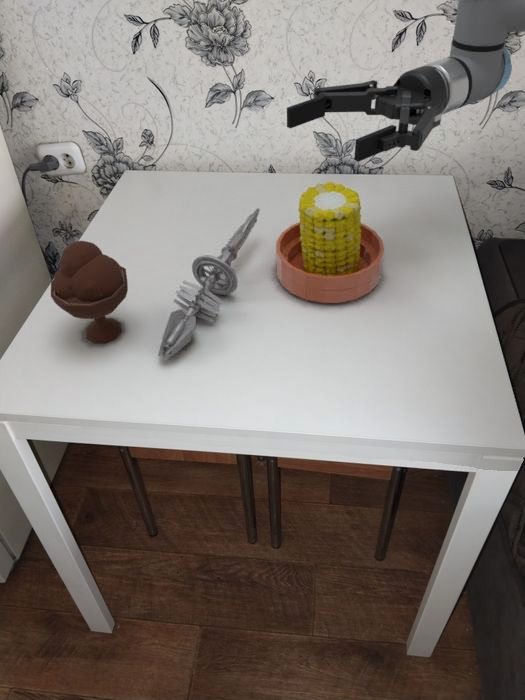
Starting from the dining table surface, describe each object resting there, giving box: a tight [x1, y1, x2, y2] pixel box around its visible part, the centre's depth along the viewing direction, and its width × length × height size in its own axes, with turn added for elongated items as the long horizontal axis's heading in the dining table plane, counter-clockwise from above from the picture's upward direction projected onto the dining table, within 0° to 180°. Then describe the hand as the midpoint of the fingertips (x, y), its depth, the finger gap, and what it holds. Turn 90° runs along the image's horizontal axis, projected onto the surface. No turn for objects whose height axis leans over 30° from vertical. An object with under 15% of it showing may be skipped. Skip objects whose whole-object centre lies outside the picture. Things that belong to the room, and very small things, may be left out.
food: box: [298, 181, 362, 276], centre depth 94 cm, size 15×12×10 cm
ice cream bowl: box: [50, 240, 129, 344], centre depth 85 cm, size 11×11×15 cm
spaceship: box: [157, 208, 261, 361], centre depth 93 cm, size 8×35×8 cm
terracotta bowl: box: [275, 221, 385, 304], centre depth 97 cm, size 17×17×6 cm
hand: (320, 133), depth 78 cm, fingers open, 13 cm apart
